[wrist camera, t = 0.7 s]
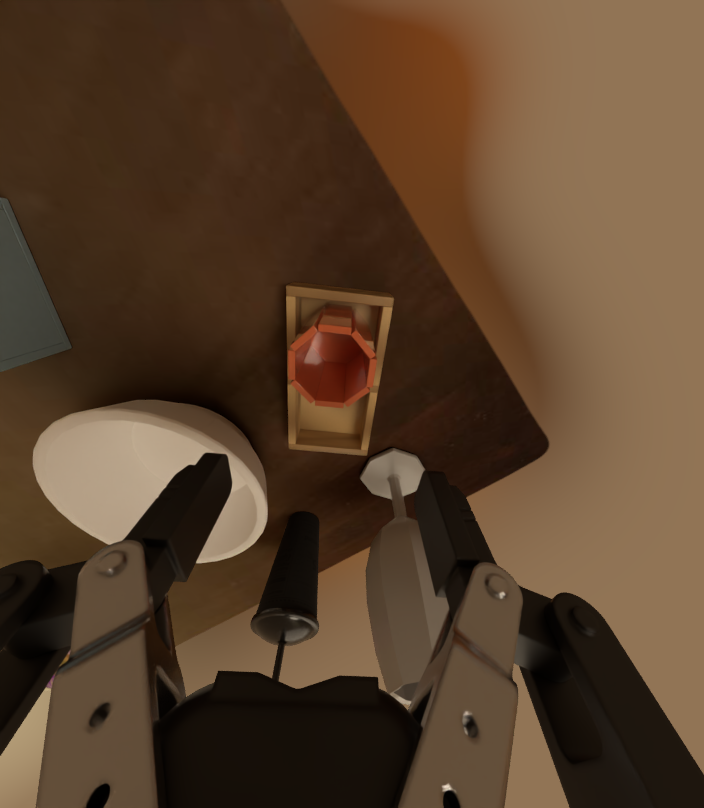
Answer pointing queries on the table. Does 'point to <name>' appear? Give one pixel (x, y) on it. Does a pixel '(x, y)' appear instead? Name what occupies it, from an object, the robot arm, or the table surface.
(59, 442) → the bowl
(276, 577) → the drinking cup
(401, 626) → the wineglass
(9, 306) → the open box
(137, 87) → the table surface
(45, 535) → the table surface
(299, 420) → the rack
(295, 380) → the cup
